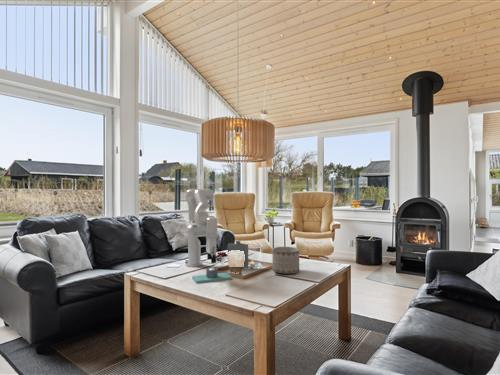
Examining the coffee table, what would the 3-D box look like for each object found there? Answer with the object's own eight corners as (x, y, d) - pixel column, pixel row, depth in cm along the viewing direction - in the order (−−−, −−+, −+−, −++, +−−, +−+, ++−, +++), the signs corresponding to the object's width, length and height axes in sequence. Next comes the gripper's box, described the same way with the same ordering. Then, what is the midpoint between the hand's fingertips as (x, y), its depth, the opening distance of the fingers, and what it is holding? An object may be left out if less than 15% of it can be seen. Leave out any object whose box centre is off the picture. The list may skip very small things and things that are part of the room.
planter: (298, 268, 242) (298, 246, 242) (300, 276, 223) (300, 252, 223) (272, 268, 244) (272, 246, 244) (272, 275, 225) (272, 251, 224)
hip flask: (227, 267, 247) (227, 241, 247) (228, 265, 251) (228, 240, 251) (247, 267, 245) (247, 241, 245) (248, 266, 249) (248, 240, 249)
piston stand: (192, 278, 218) (192, 268, 218) (226, 274, 227) (226, 265, 227) (196, 283, 207) (196, 273, 207) (231, 279, 216) (231, 269, 216)
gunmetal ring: (205, 275, 219) (205, 268, 219) (215, 274, 222) (215, 267, 222) (207, 278, 212) (207, 271, 212) (218, 277, 215) (218, 269, 215)
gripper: (203, 234, 223) (203, 258, 224) (209, 238, 207) (209, 265, 208) (213, 233, 226) (213, 257, 227) (220, 237, 210) (220, 263, 211)
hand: (211, 261), depth 217 cm, fingers open, 9 cm apart
